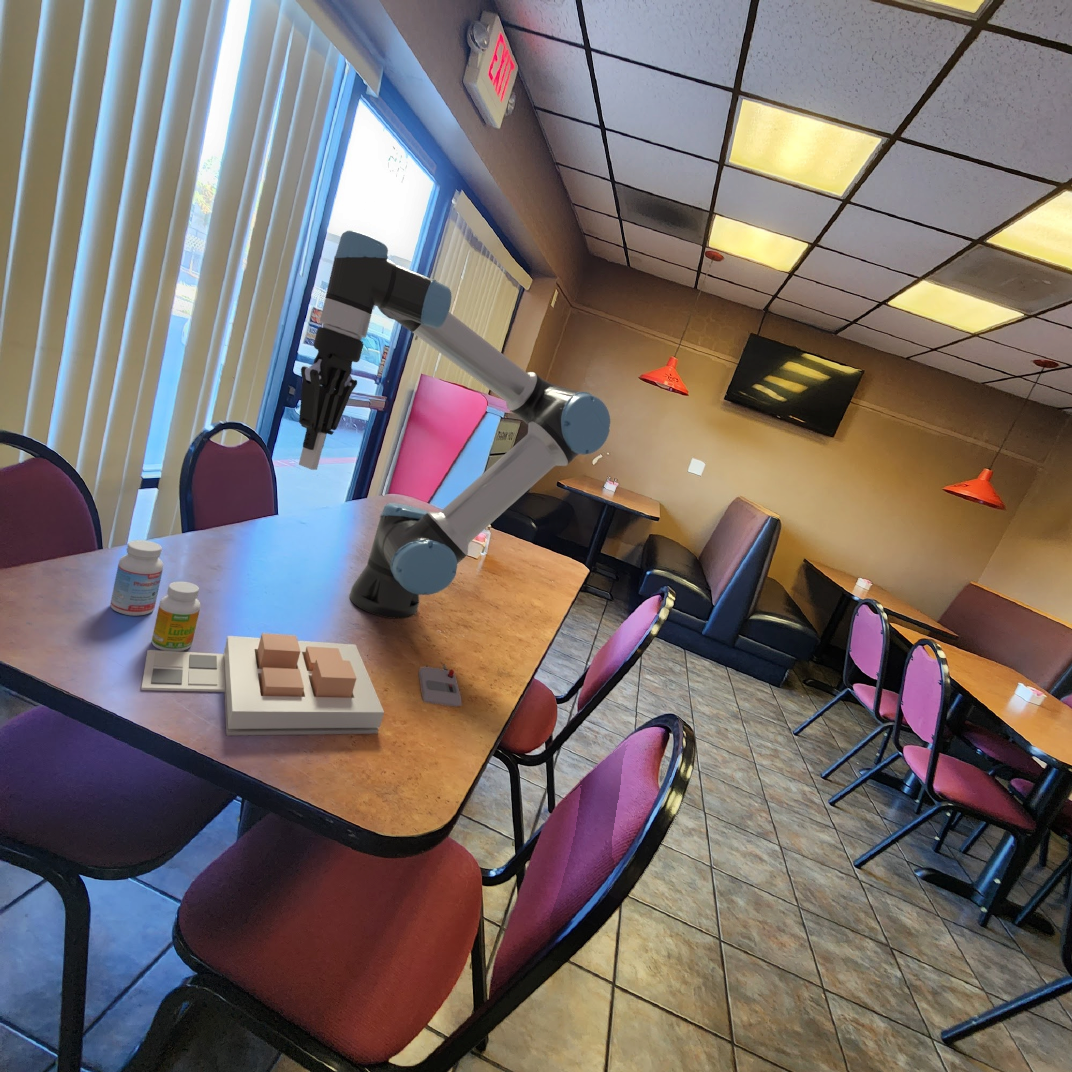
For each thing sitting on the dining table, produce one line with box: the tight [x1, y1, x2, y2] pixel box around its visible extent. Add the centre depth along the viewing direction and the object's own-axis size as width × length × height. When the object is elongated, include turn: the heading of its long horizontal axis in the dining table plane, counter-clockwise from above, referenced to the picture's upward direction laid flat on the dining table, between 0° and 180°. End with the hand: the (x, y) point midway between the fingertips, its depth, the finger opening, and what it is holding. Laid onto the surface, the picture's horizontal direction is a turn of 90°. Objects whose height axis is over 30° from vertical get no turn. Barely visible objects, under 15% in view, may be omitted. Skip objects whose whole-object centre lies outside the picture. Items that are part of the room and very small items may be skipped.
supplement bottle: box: [151, 581, 201, 652], centre depth 89 cm, size 5×5×10 cm
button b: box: [257, 632, 300, 669], centre depth 89 cm, size 5×5×3 cm
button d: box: [304, 646, 342, 671], centre depth 93 cm, size 5×5×3 cm
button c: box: [311, 659, 357, 698], centre depth 87 cm, size 5×5×3 cm
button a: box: [259, 667, 304, 697], centre depth 83 cm, size 5×5×3 cm
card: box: [140, 649, 225, 693], centre depth 85 cm, size 10×10×1 cm
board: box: [222, 635, 385, 736], centre depth 88 cm, size 20×20×4 cm
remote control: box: [418, 663, 462, 707], centre depth 104 cm, size 7×16×3 cm, turn 16°
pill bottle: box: [110, 539, 164, 617], centre depth 95 cm, size 6×6×11 cm
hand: (307, 466), depth 102 cm, fingers closed
